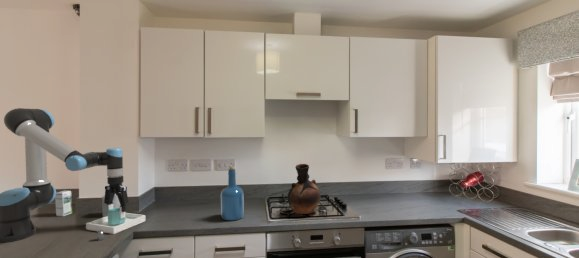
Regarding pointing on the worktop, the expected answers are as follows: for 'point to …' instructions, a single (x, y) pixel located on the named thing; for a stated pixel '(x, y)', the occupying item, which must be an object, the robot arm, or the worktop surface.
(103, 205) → the grey cylinder
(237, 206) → the wine bottle
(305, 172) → the ceramic vessel
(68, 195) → the syrup box
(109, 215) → the teal faceted pot
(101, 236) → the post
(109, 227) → the tray
